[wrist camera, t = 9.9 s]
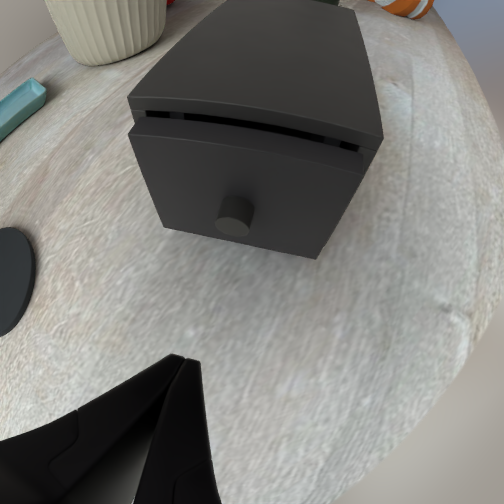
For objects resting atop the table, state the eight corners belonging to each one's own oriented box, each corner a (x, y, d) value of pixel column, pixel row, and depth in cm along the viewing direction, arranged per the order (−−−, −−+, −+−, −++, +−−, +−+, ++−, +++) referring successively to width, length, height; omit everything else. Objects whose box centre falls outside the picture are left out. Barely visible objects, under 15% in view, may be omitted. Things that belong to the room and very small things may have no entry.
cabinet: (324, 247, 18) (384, 138, 10) (165, 214, 19) (126, 96, 10) (333, 86, 27) (354, 10, 18) (236, 68, 27) (238, -9, 18)
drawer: (313, 278, 17) (364, 201, 9) (156, 244, 17) (113, 155, 10) (329, 89, 25) (347, 23, 18) (236, 72, 25) (237, 5, 18)
